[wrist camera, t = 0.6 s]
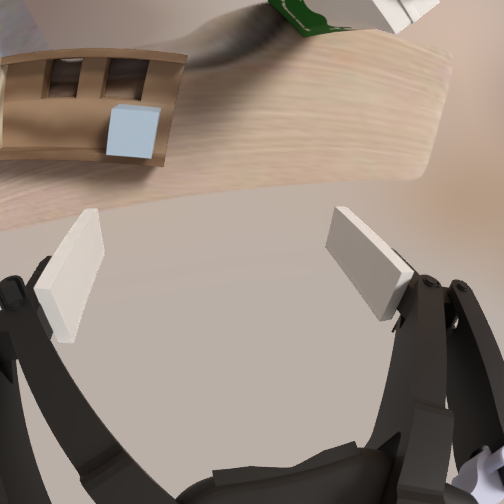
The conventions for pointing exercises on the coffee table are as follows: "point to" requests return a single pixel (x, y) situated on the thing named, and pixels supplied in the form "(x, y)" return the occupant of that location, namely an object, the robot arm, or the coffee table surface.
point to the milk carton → (351, 14)
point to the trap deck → (79, 105)
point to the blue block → (132, 131)
